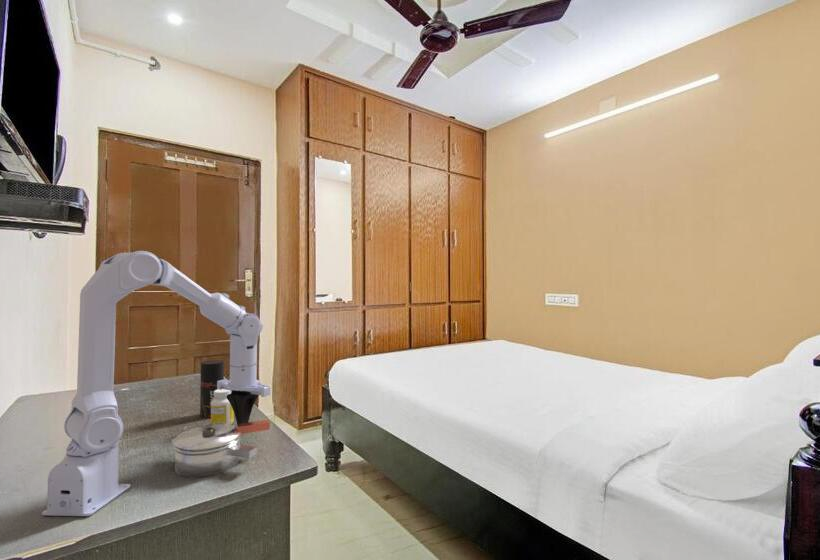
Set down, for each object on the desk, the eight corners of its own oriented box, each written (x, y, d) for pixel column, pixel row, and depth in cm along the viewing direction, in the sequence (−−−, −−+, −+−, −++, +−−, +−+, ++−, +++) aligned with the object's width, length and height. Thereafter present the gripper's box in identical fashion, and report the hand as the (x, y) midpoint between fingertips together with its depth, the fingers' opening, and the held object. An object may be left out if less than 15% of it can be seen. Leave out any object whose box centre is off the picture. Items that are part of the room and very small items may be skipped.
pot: (149, 471, 80) (149, 446, 80) (199, 446, 92) (199, 424, 92) (230, 486, 74) (231, 459, 74) (272, 457, 86) (272, 434, 86)
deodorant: (206, 419, 110) (207, 365, 110) (196, 415, 113) (196, 362, 113) (227, 414, 114) (227, 361, 114) (216, 409, 118) (217, 359, 118)
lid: (173, 456, 75) (173, 446, 75) (175, 433, 86) (175, 425, 86) (273, 438, 84) (273, 430, 84) (264, 420, 95) (264, 412, 95)
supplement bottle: (227, 422, 107) (228, 386, 107) (237, 427, 104) (238, 390, 104) (206, 428, 103) (207, 390, 103) (216, 433, 100) (217, 394, 100)
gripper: (280, 364, 92) (279, 422, 92) (234, 358, 98) (233, 413, 98) (257, 370, 86) (256, 433, 86) (209, 364, 92) (209, 423, 92)
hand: (242, 423), depth 92 cm, fingers closed
